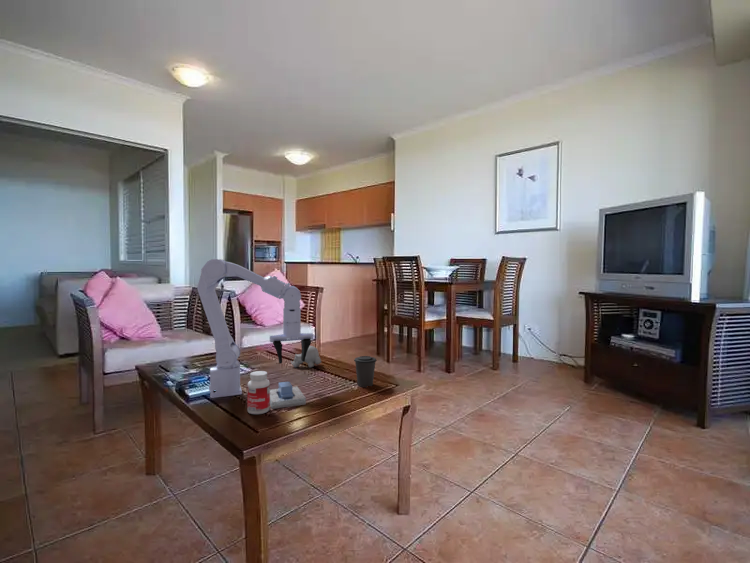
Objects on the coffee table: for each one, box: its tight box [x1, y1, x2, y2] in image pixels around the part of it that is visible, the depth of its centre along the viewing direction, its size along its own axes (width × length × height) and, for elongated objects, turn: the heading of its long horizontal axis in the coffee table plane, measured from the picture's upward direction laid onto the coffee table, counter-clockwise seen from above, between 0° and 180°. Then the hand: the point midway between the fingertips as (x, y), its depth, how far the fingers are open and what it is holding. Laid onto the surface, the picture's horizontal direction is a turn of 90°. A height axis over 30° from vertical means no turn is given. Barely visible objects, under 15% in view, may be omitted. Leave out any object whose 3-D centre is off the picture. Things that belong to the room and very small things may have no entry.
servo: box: [277, 381, 293, 400], centre depth 118 cm, size 8×3×5 cm, turn 24°
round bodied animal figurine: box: [290, 345, 322, 368], centre depth 158 cm, size 7×12×8 cm, turn 99°
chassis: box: [270, 385, 307, 410], centre depth 118 cm, size 10×12×2 cm
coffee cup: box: [353, 355, 377, 388], centre depth 134 cm, size 8×8×10 cm
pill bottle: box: [246, 370, 271, 415], centre depth 109 cm, size 6×6×11 cm
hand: (291, 361), depth 128 cm, fingers open, 7 cm apart
